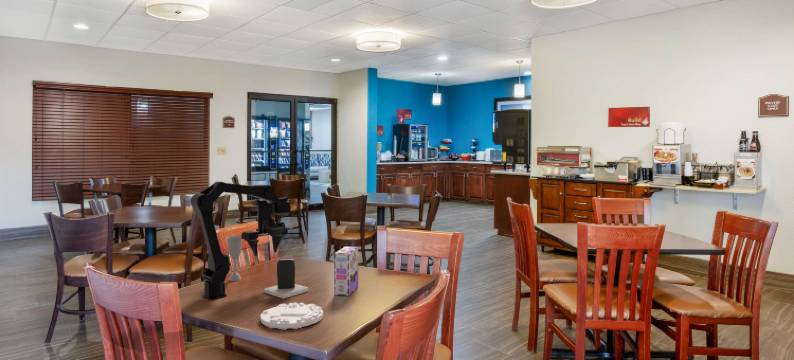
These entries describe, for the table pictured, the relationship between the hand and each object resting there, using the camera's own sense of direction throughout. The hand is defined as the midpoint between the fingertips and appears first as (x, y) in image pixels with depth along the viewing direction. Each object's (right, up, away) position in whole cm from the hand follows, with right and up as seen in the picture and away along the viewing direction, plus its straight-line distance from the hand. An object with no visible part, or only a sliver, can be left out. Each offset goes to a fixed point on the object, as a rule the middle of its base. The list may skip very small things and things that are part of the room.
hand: (265, 254), depth 199 cm
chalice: (-16, -13, +11) cm, 23 cm away
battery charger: (+10, -12, -8) cm, 17 cm away
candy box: (+33, -14, -6) cm, 36 cm away
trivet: (+10, -14, -7) cm, 18 cm away
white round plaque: (+19, -16, -38) cm, 45 cm away
